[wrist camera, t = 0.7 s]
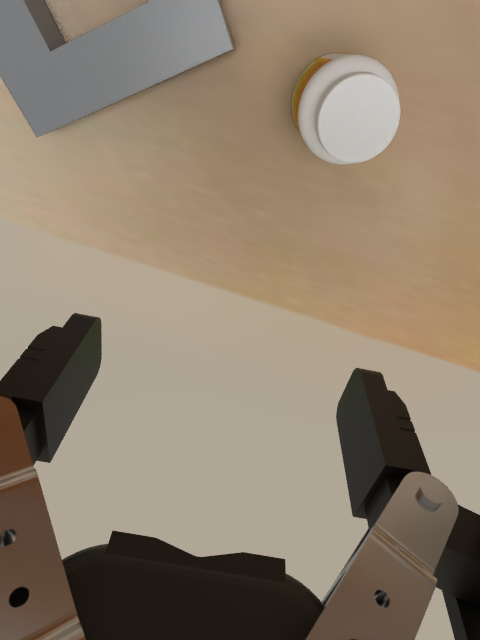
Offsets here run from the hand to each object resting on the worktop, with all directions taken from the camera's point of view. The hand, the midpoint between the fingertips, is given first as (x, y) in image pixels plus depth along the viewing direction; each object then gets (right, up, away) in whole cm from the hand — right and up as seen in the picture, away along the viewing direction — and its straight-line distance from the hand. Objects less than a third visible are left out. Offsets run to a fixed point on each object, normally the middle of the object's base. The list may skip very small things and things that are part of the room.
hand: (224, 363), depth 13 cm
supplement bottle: (+7, +17, +15) cm, 23 cm away
